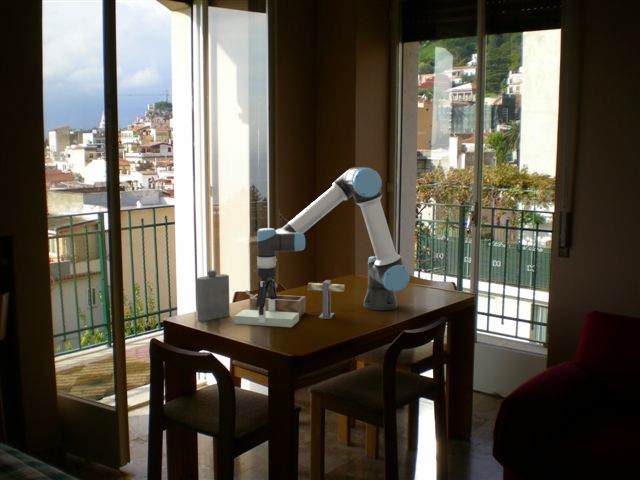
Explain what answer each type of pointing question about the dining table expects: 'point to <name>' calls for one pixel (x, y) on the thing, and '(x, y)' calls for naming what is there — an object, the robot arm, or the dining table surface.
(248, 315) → the lid
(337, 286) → the light wooden bar
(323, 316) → the grey post stand
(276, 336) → the dining table surface
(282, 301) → the brown open box
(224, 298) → the flask
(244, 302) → the dining table surface
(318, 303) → the dining table surface
